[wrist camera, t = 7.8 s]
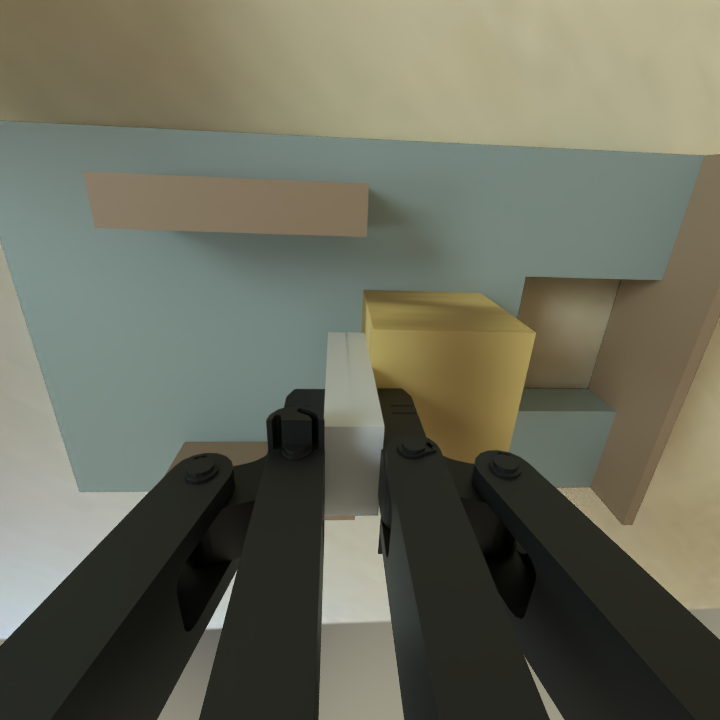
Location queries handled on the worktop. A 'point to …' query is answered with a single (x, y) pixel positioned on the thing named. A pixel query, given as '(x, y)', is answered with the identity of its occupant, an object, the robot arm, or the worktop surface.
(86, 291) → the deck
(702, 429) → the worktop surface
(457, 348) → the ochre block
